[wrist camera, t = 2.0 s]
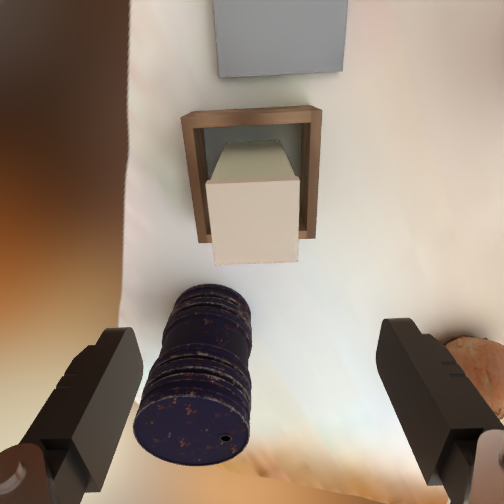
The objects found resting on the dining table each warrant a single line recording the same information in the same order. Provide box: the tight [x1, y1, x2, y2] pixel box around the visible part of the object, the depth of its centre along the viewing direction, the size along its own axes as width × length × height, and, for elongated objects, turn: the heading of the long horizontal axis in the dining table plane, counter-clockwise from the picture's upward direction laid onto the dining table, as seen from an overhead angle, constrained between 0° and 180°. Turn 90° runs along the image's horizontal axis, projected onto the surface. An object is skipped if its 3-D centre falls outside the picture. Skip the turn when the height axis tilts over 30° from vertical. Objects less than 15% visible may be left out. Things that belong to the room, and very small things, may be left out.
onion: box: [443, 336, 504, 420], centre depth 38 cm, size 10×9×10 cm
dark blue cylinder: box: [133, 284, 252, 466], centre depth 33 cm, size 10×10×15 cm
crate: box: [181, 106, 322, 243], centre depth 28 cm, size 11×11×5 cm
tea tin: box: [205, 140, 300, 265], centre depth 25 cm, size 5×5×14 cm
